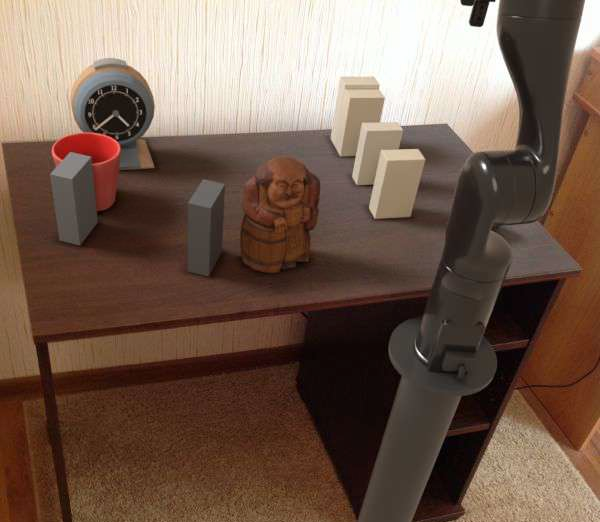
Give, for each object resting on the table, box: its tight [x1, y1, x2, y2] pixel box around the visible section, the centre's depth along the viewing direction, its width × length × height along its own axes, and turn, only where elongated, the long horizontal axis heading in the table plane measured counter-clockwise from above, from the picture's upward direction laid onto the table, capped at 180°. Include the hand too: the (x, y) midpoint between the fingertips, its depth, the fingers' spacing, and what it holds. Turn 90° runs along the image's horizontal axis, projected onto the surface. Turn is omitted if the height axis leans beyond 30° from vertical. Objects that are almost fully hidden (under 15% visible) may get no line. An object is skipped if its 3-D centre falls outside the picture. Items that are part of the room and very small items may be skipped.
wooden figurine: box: [239, 155, 321, 274], centre depth 117 cm, size 12×6×18 cm, turn 119°
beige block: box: [351, 121, 404, 186], centre depth 140 cm, size 7×3×11 cm, turn 105°
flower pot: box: [51, 132, 121, 212], centre depth 126 cm, size 11×11×10 cm
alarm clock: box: [69, 57, 156, 171], centre depth 133 cm, size 14×10×18 cm
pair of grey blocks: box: [49, 152, 226, 277], centre depth 117 cm, size 7×25×13 cm, turn 77°
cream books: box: [330, 76, 426, 220], centre depth 141 cm, size 29×7×13 cm, turn 15°
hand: (470, 15), depth 120 cm, fingers open, 8 cm apart
